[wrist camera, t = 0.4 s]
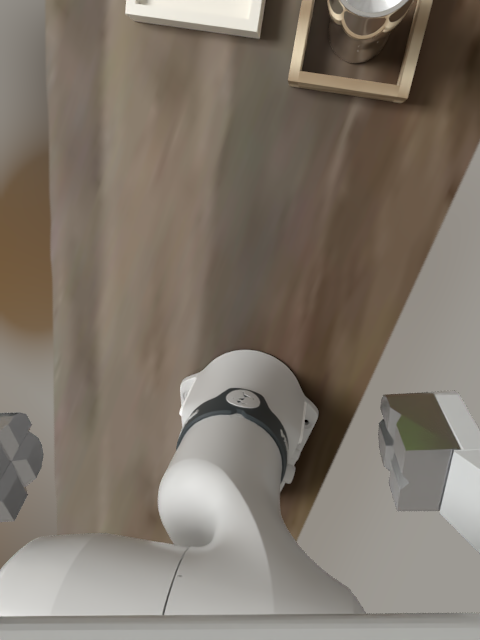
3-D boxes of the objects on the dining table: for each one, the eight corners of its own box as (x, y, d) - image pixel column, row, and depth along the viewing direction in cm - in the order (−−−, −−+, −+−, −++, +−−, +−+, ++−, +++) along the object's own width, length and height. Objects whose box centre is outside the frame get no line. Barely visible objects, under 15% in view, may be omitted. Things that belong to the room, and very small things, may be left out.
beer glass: (310, 29, 46) (307, -37, 32) (366, -28, 44) (390, -125, 30) (352, 83, 47) (367, 43, 33) (408, 31, 45) (451, -37, 31)
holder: (402, 103, 47) (407, 98, 44) (289, 86, 48) (287, 80, 45) (436, -33, 43) (445, -48, 40) (313, -48, 44) (313, -63, 41)
